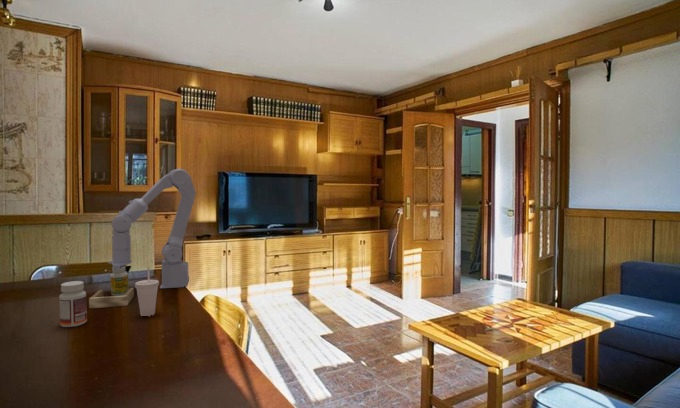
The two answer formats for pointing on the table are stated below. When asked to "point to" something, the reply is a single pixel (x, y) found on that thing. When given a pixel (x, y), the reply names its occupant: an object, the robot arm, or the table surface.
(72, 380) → the table surface
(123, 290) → the supplement bottle
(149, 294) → the smoothie
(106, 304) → the beech corral
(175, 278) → the robot arm
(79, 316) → the pill bottle
